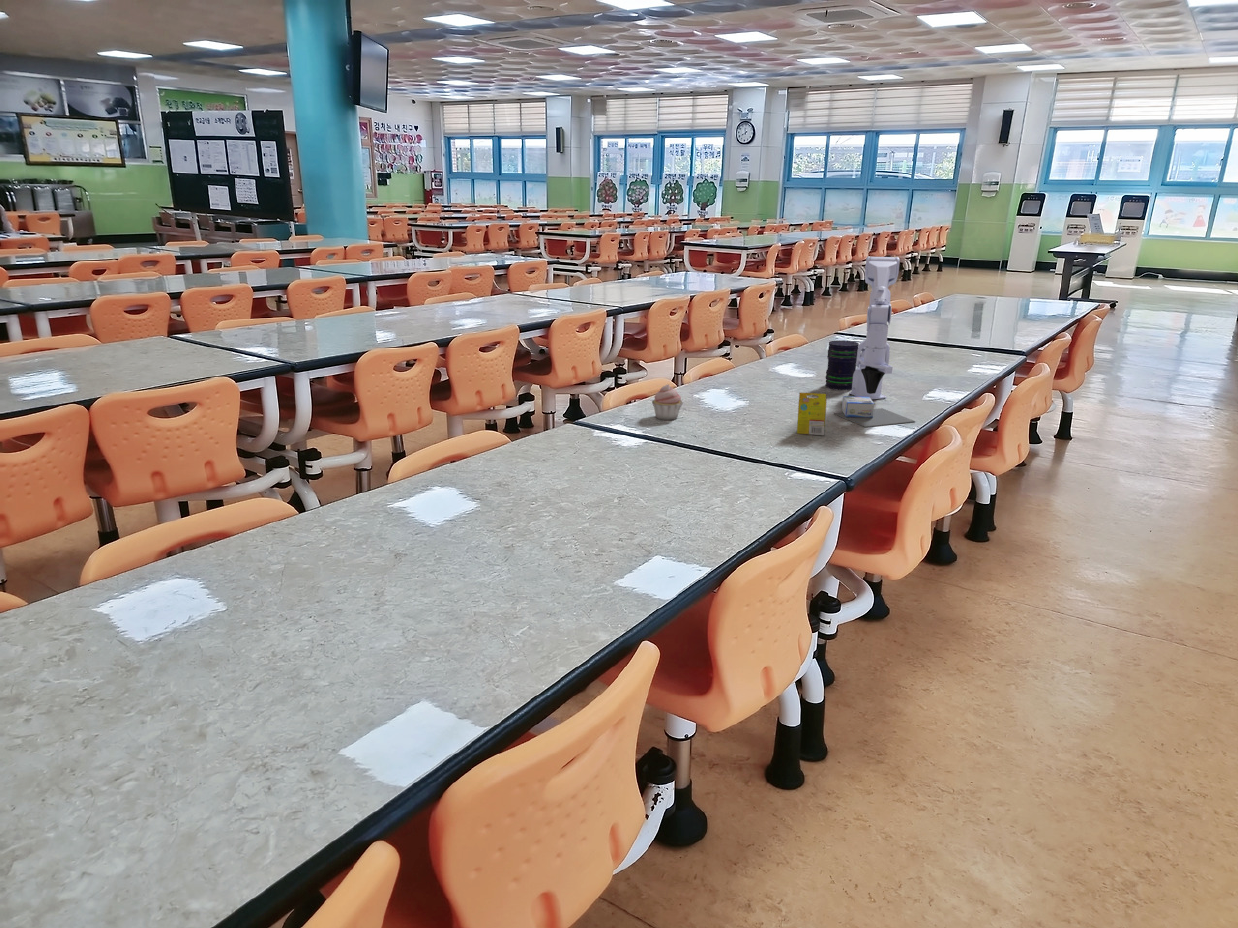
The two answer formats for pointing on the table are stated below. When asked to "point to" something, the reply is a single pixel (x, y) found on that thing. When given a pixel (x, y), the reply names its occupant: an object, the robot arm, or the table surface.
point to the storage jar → (841, 364)
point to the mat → (877, 418)
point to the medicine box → (857, 406)
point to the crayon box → (811, 414)
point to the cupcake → (667, 403)
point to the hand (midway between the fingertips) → (871, 393)
